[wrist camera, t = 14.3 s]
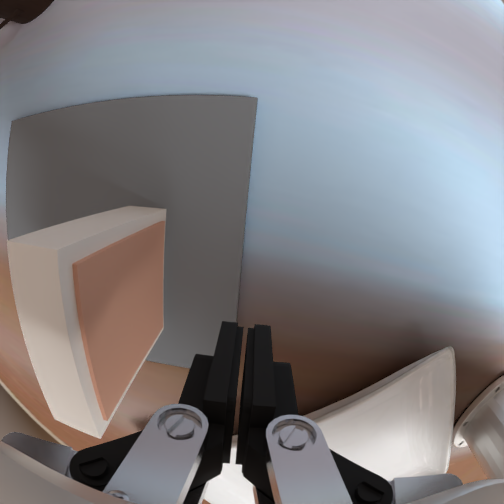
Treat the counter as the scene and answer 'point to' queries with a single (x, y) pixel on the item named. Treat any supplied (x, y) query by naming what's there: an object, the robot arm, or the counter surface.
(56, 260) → the tile
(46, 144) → the mat
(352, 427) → the square plate
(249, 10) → the counter surface
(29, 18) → the coffee mug
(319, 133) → the counter surface
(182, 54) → the counter surface
